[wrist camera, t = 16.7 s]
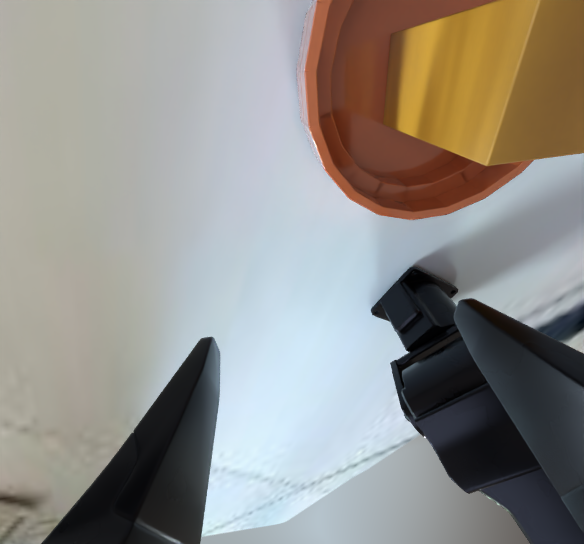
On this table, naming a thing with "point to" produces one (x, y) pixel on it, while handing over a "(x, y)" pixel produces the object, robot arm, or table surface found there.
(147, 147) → the table surface
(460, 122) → the ochre block
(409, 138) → the bowl
